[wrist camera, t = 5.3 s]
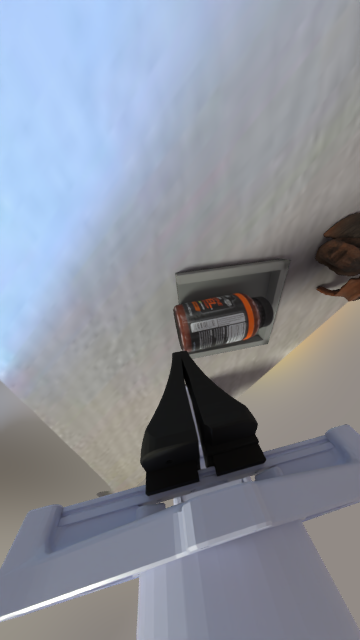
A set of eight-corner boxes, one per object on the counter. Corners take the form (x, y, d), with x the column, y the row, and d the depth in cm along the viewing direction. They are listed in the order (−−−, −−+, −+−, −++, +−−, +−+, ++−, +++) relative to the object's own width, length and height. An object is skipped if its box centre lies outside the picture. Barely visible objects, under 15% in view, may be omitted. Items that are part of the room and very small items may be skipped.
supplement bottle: (170, 299, 18) (249, 284, 19) (177, 336, 20) (246, 321, 21) (176, 317, 12) (286, 294, 13) (185, 364, 15) (276, 342, 16)
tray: (260, 337, 24) (267, 343, 23) (184, 352, 23) (186, 360, 21) (278, 259, 18) (290, 259, 16) (175, 273, 17) (177, 275, 15)
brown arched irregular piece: (381, 208, 17) (474, 238, 13) (311, 271, 25) (357, 303, 21) (335, 195, 13) (450, 233, 9) (267, 276, 21) (314, 318, 16)
